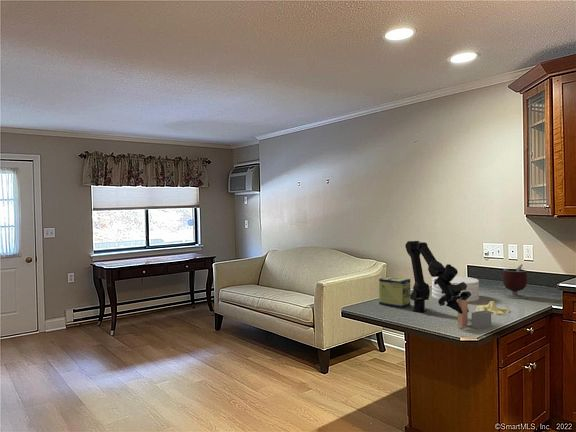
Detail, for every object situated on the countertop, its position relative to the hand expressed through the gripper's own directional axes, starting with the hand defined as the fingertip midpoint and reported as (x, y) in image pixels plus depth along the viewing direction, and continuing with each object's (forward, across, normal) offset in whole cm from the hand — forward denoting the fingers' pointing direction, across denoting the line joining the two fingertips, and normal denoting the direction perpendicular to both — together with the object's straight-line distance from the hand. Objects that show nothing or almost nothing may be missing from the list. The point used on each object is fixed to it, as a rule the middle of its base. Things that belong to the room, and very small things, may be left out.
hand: (465, 312), depth 212 cm
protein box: (-32, +5, +42) cm, 53 cm away
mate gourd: (-14, +84, +24) cm, 89 cm away
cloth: (-3, +37, +14) cm, 40 cm away
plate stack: (-28, +52, +38) cm, 71 cm away
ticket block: (+7, +2, +2) cm, 8 cm away
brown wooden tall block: (+3, 0, +5) cm, 6 cm away
